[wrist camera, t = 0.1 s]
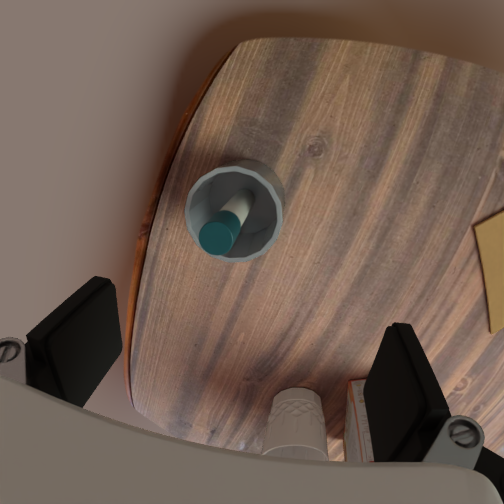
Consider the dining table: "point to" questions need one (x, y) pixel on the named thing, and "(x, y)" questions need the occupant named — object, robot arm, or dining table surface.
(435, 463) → the robot arm
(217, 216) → the marker
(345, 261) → the dining table surface
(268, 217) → the pen pot
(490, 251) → the cork mat
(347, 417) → the cracker box
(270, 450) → the white cup
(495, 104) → the dining table surface
